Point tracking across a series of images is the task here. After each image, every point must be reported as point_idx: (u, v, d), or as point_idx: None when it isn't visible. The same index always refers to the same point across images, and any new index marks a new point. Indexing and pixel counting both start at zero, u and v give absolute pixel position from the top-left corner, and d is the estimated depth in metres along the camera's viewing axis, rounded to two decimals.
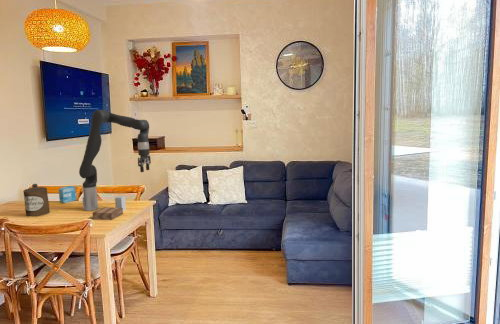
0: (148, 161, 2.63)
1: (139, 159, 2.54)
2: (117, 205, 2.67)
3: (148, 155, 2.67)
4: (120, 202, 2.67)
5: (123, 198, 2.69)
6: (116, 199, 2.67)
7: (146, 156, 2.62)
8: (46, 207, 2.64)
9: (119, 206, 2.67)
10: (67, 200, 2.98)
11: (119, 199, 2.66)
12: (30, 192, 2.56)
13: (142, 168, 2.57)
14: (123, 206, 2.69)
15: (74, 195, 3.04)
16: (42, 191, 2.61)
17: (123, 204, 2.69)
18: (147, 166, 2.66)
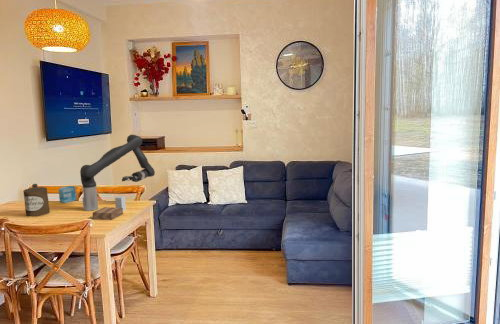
0: (129, 180, 2.86)
1: (141, 178, 2.86)
2: (117, 205, 2.67)
3: None
4: (120, 202, 2.67)
5: (123, 198, 2.69)
6: (116, 199, 2.67)
7: None
8: (46, 207, 2.64)
9: (119, 206, 2.67)
10: (67, 200, 2.98)
11: (119, 199, 2.66)
12: (30, 192, 2.56)
13: (135, 180, 2.81)
14: (123, 206, 2.69)
15: (74, 195, 3.04)
16: (42, 191, 2.61)
17: (123, 204, 2.69)
18: (124, 179, 2.82)
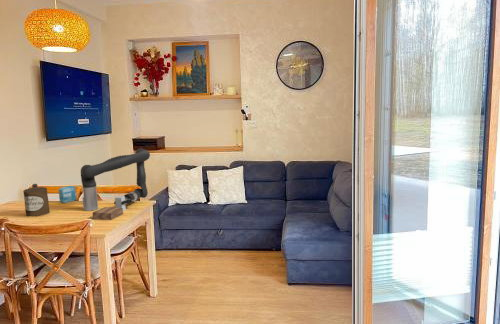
0: None
1: (132, 200, 2.74)
2: (117, 205, 2.67)
3: None
4: (120, 202, 2.67)
5: (123, 198, 2.69)
6: (116, 199, 2.67)
7: None
8: (46, 207, 2.64)
9: (119, 206, 2.67)
10: (67, 200, 2.98)
11: (119, 199, 2.66)
12: (30, 192, 2.56)
13: None
14: (123, 206, 2.69)
15: (74, 195, 3.04)
16: (42, 191, 2.61)
17: (123, 204, 2.69)
18: None
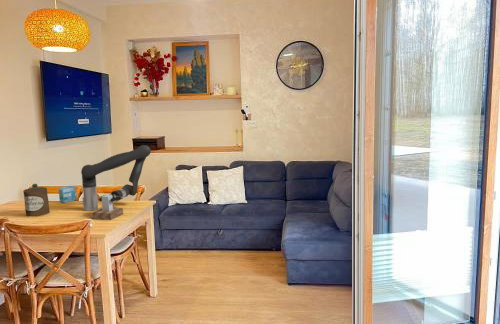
0: None
1: (121, 197, 2.59)
2: (104, 204, 2.51)
3: None
4: (107, 201, 2.50)
5: (110, 197, 2.53)
6: (103, 198, 2.51)
7: None
8: (46, 207, 2.64)
9: (106, 206, 2.51)
10: (67, 200, 2.98)
11: (106, 198, 2.50)
12: (30, 192, 2.56)
13: None
14: (110, 205, 2.53)
15: (74, 195, 3.04)
16: (42, 191, 2.61)
17: (110, 203, 2.53)
18: None
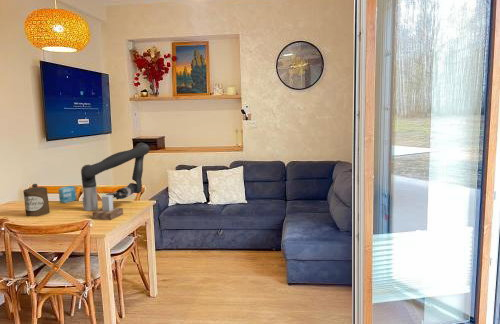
0: None
1: (127, 195, 2.66)
2: (104, 204, 2.51)
3: None
4: (107, 201, 2.50)
5: (110, 197, 2.53)
6: (103, 198, 2.51)
7: None
8: (46, 207, 2.64)
9: (106, 206, 2.51)
10: (67, 200, 2.98)
11: (106, 198, 2.50)
12: (30, 192, 2.56)
13: (119, 198, 2.60)
14: (110, 205, 2.53)
15: (74, 195, 3.04)
16: (42, 191, 2.61)
17: (110, 203, 2.53)
18: None
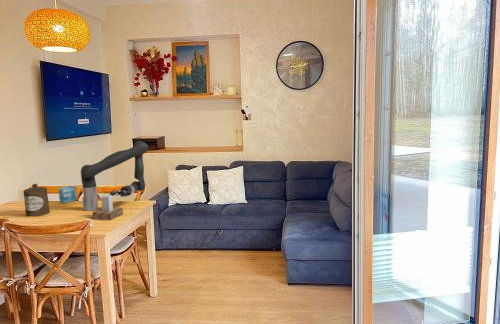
0: (117, 195, 2.71)
1: (131, 192, 2.71)
2: (104, 204, 2.51)
3: None
4: (107, 201, 2.50)
5: (110, 197, 2.53)
6: (103, 198, 2.51)
7: None
8: (46, 207, 2.64)
9: (106, 206, 2.51)
10: (67, 200, 2.98)
11: (106, 198, 2.50)
12: (30, 192, 2.56)
13: (123, 195, 2.65)
14: (110, 205, 2.53)
15: (74, 195, 3.04)
16: (42, 191, 2.61)
17: (110, 203, 2.53)
18: (112, 194, 2.67)
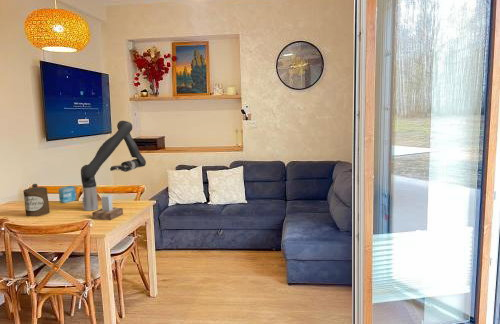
0: None
1: (131, 167, 2.72)
2: (104, 204, 2.51)
3: (116, 167, 2.76)
4: (107, 201, 2.50)
5: (110, 197, 2.53)
6: (103, 198, 2.50)
7: None
8: (46, 207, 2.64)
9: (106, 206, 2.51)
10: (67, 200, 2.98)
11: (106, 198, 2.50)
12: (30, 192, 2.56)
13: (124, 169, 2.66)
14: (110, 205, 2.53)
15: (74, 195, 3.04)
16: (42, 191, 2.61)
17: (110, 203, 2.53)
18: (113, 168, 2.68)
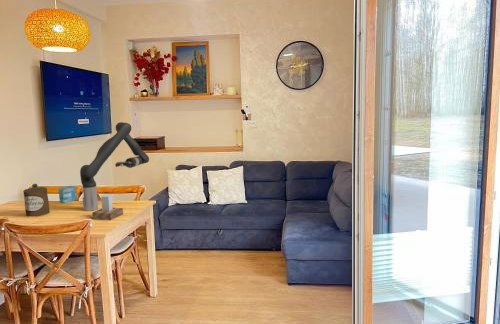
0: None
1: (135, 163, 2.82)
2: (104, 204, 2.51)
3: None
4: (107, 201, 2.51)
5: (110, 197, 2.53)
6: (103, 198, 2.51)
7: None
8: (46, 207, 2.64)
9: (106, 206, 2.51)
10: (67, 200, 2.98)
11: (106, 198, 2.50)
12: (30, 192, 2.56)
13: (128, 165, 2.76)
14: (110, 205, 2.53)
15: (74, 195, 3.04)
16: (42, 191, 2.61)
17: (110, 203, 2.53)
18: (118, 164, 2.78)
